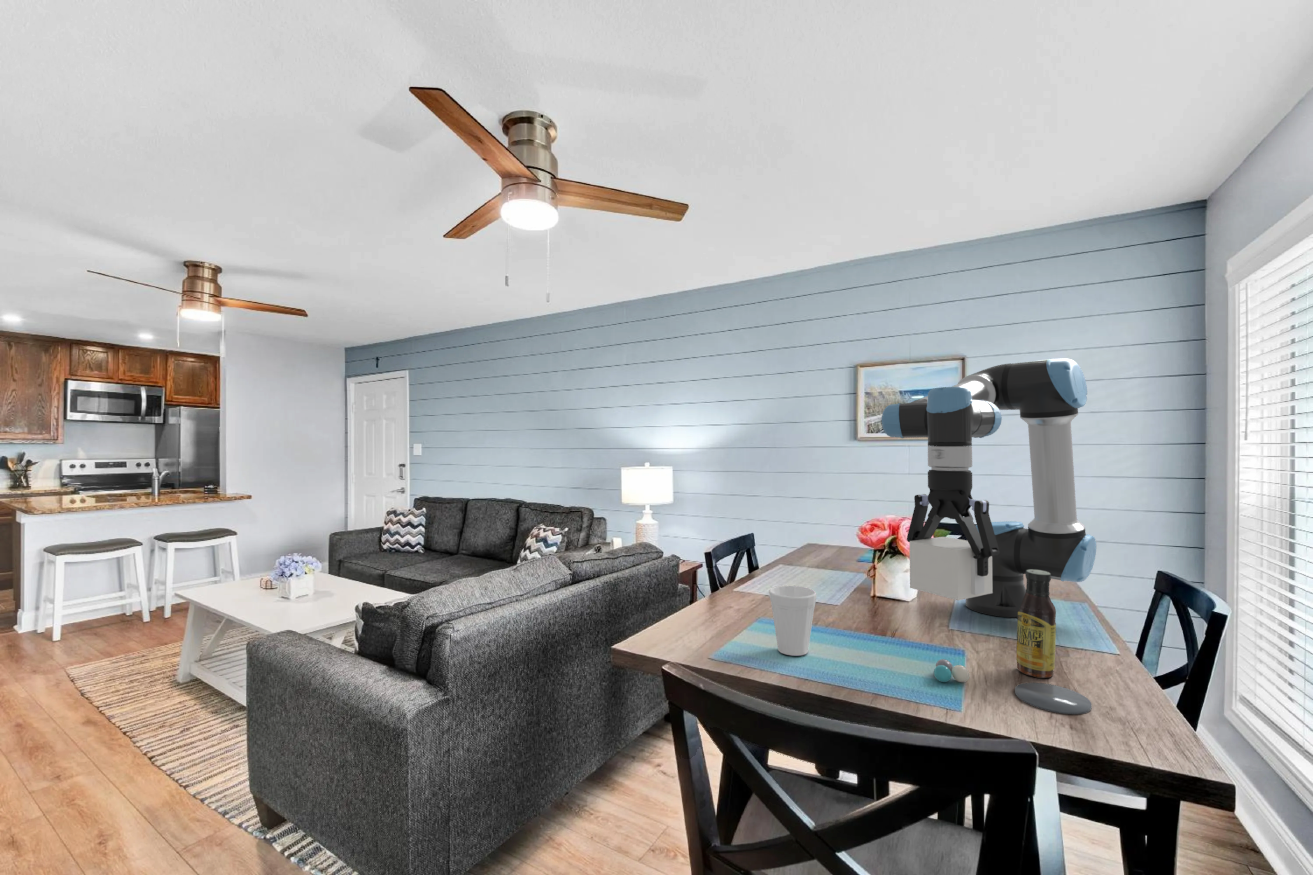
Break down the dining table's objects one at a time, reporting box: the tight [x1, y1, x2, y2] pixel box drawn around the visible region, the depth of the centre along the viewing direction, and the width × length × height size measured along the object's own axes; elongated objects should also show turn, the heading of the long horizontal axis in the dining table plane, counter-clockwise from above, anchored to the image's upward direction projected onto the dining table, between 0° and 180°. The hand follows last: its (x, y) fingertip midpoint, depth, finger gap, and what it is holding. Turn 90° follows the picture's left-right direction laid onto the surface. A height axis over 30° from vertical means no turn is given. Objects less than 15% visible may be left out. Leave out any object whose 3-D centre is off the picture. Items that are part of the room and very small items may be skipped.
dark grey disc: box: [1014, 682, 1092, 715], centre depth 101 cm, size 11×11×1 cm
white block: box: [909, 536, 993, 601], centre depth 109 cm, size 10×10×9 cm
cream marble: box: [951, 664, 970, 683], centre depth 108 cm, size 3×3×3 cm
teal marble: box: [933, 665, 953, 683], centre depth 108 cm, size 3×3×3 cm
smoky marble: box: [935, 658, 954, 674], centre depth 111 cm, size 3×3×3 cm
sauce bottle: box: [1015, 569, 1057, 679], centre depth 112 cm, size 6×6×20 cm
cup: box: [768, 584, 817, 657], centre depth 124 cm, size 10×10×13 cm
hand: (950, 586), depth 109 cm, fingers closed on white block, 10 cm apart
